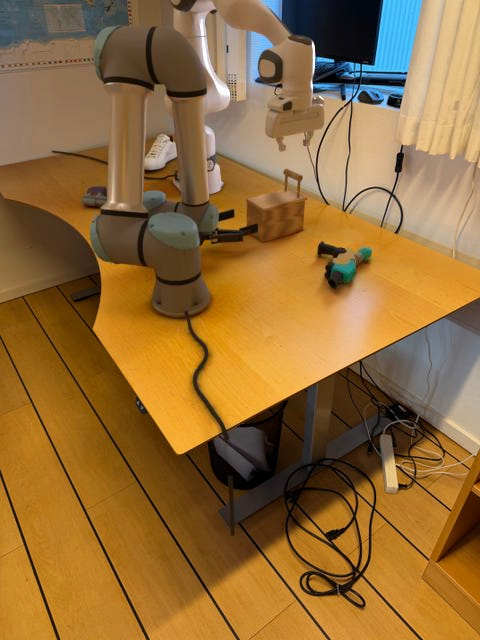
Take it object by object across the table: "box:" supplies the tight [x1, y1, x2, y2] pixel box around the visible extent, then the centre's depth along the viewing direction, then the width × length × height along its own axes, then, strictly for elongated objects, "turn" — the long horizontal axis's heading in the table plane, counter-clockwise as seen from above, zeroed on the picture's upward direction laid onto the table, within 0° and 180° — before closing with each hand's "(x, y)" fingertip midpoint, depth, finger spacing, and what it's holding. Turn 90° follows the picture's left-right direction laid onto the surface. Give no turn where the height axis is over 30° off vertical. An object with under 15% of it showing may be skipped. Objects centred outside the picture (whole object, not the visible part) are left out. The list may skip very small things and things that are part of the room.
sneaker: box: [144, 133, 177, 171], centre depth 214 cm, size 10×29×12 cm, turn 163°
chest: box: [246, 200, 306, 243], centre depth 157 cm, size 16×10×10 cm, turn 122°
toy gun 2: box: [316, 240, 373, 290], centre depth 137 cm, size 4×26×15 cm
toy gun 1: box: [80, 185, 107, 208], centre depth 180 cm, size 4×19×15 cm
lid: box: [246, 168, 308, 212], centre depth 152 cm, size 17×10×8 cm, turn 122°
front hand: (245, 220), depth 153 cm, fingers open, 13 cm apart
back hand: (294, 148), depth 147 cm, fingers open, 8 cm apart
